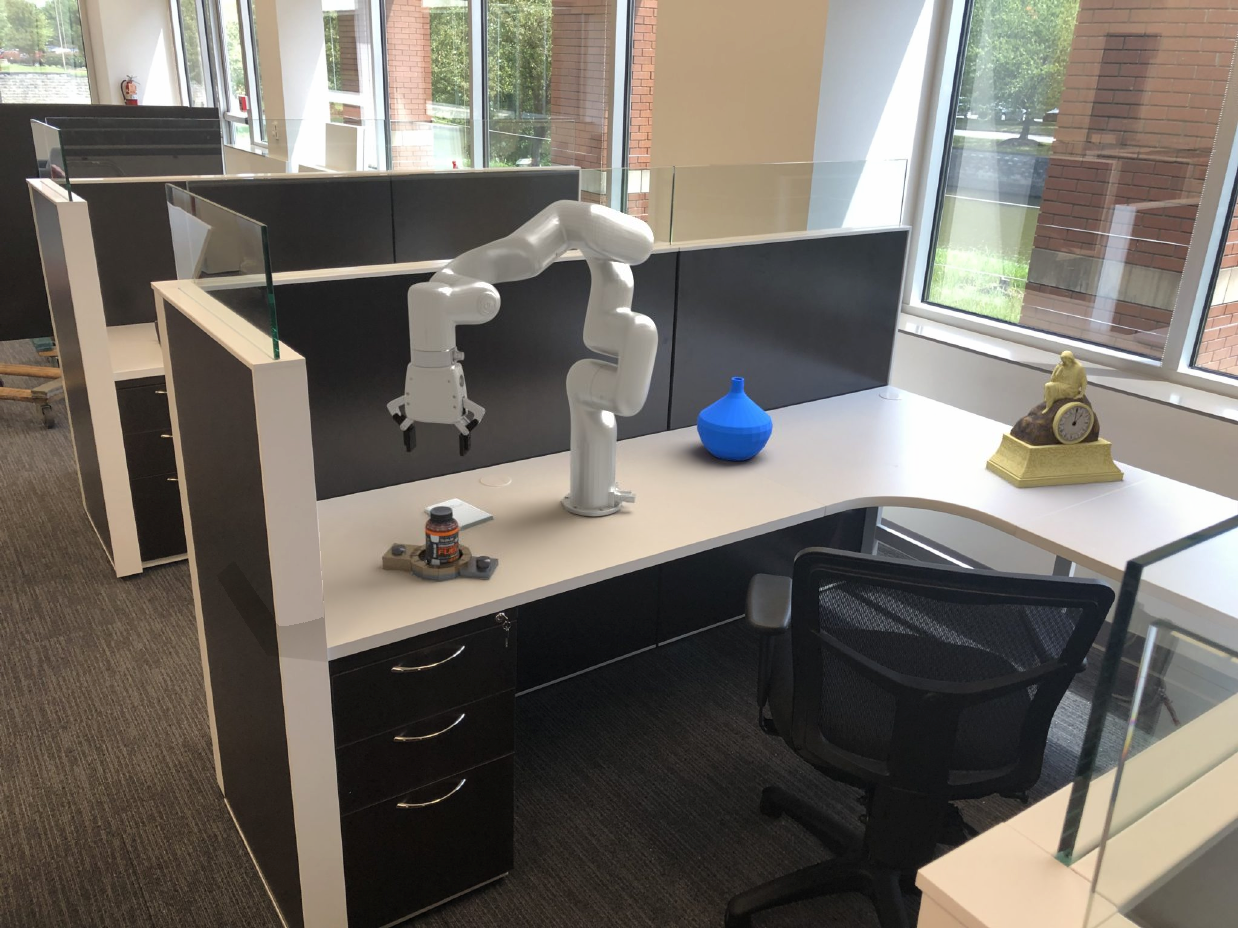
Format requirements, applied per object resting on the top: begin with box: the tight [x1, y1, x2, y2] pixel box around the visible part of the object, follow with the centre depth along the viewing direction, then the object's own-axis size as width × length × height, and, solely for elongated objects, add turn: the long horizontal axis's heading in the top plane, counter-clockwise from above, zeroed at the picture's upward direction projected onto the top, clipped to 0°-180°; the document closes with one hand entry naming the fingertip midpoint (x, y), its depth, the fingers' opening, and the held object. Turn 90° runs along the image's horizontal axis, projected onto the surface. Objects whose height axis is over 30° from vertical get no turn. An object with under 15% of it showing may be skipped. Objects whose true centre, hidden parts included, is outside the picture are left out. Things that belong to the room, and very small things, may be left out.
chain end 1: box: [381, 542, 473, 575], centre depth 177 cm, size 16×11×3 cm
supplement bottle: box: [424, 506, 460, 565], centre depth 176 cm, size 6×6×11 cm
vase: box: [696, 376, 774, 461], centre depth 235 cm, size 18×18×19 cm
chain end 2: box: [410, 555, 499, 582], centre depth 177 cm, size 16×11×2 cm
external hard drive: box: [424, 498, 494, 531], centre depth 199 cm, size 2×8×12 cm
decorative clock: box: [985, 350, 1125, 489], centre depth 226 cm, size 28×13×30 cm, turn 103°
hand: (437, 451), depth 170 cm, fingers open, 9 cm apart
